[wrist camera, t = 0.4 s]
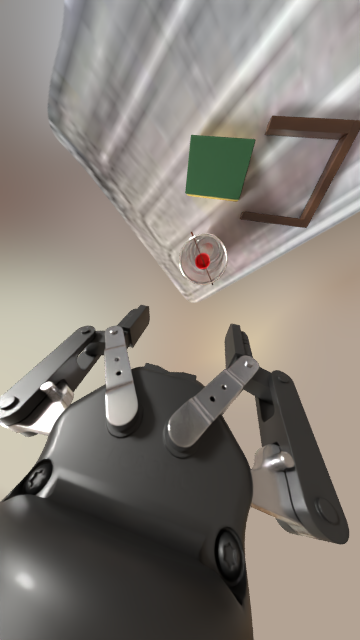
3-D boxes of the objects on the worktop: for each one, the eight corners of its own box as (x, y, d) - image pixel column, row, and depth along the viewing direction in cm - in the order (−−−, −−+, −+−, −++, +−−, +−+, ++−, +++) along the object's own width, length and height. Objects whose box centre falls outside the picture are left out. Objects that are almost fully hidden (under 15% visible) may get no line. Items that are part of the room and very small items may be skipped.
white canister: (230, 262, 35) (235, 278, 25) (198, 275, 38) (192, 294, 29) (216, 217, 30) (215, 216, 21) (182, 238, 34) (168, 245, 24)
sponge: (193, 143, 25) (191, 134, 22) (251, 148, 24) (255, 139, 21) (188, 195, 29) (185, 193, 27) (237, 201, 28) (239, 199, 25)
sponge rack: (268, 123, 22) (272, 115, 21) (353, 127, 21) (365, 120, 19) (239, 219, 30) (241, 219, 28) (301, 227, 28) (306, 227, 27)
